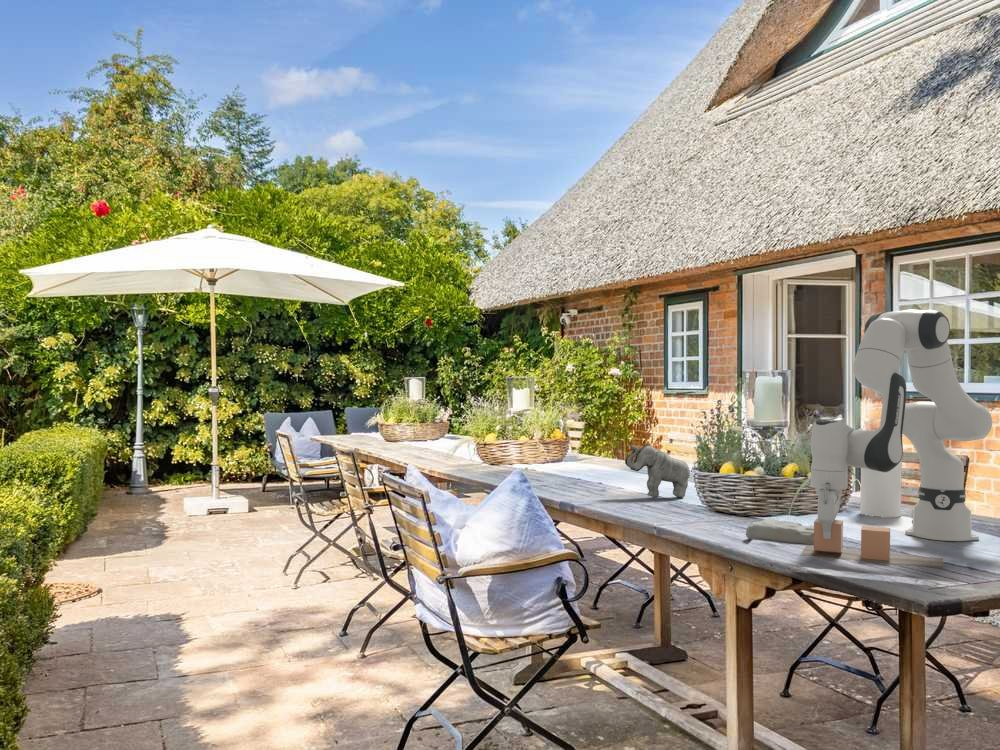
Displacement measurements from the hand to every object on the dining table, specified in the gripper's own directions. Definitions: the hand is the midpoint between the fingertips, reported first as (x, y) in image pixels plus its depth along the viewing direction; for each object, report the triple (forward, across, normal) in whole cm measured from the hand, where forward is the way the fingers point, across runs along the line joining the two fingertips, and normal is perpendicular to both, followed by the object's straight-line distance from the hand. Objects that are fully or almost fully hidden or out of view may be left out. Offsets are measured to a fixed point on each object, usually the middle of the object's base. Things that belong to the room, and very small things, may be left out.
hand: (828, 535), depth 216 cm
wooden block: (+4, 0, -11) cm, 12 cm away
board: (+6, 0, -10) cm, 11 cm away
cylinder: (+6, +84, -10) cm, 85 cm away
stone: (+6, +17, +13) cm, 22 cm away
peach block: (+3, 0, 0) cm, 3 cm away
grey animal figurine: (+6, +85, +67) cm, 108 cm away
